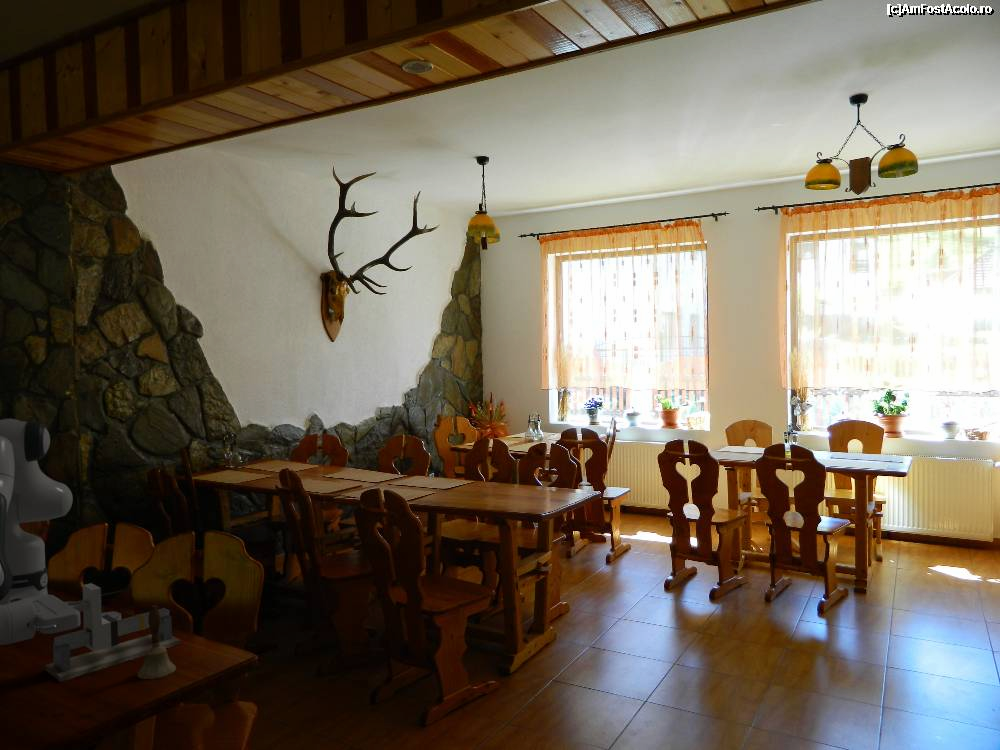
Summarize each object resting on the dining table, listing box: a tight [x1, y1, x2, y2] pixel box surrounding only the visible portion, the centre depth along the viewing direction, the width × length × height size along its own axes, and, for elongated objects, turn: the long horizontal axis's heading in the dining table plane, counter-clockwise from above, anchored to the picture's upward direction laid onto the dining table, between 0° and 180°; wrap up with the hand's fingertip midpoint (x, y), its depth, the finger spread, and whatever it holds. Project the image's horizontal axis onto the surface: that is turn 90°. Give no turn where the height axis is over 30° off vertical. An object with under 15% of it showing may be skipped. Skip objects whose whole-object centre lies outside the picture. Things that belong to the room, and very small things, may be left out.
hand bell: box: [137, 604, 177, 680], centre depth 172 cm, size 8×8×16 cm
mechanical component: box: [101, 611, 122, 620], centre depth 199 cm, size 10×4×10 cm
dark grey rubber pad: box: [102, 615, 119, 647], centre depth 180 cm, size 2×6×6 cm, turn 49°
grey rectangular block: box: [82, 582, 111, 652], centre depth 178 cm, size 4×6×15 cm, turn 49°
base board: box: [45, 633, 181, 683], centre depth 181 cm, size 28×10×1 cm, turn 139°
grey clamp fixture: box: [52, 607, 173, 672], centre depth 181 cm, size 26×5×7 cm, turn 139°
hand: (87, 604), depth 177 cm, fingers closed, pressing on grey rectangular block
